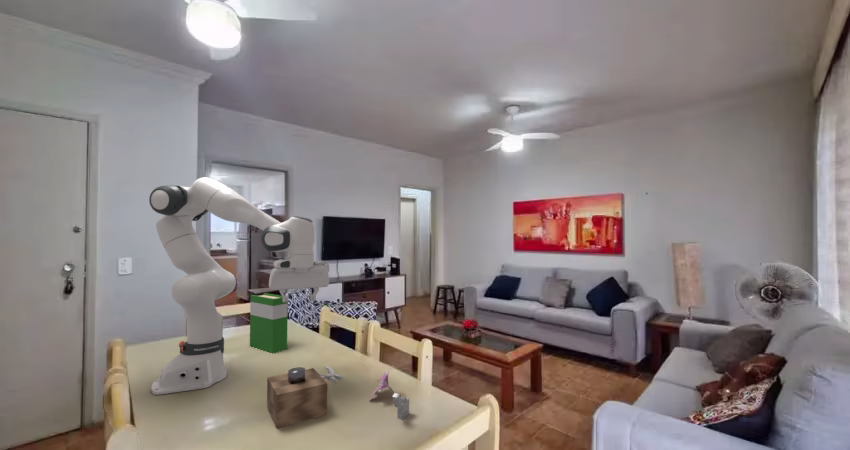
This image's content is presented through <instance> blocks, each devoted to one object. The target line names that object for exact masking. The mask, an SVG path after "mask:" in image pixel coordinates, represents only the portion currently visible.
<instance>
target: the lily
mask: <svg viewBox="0 0 850 450" xmlns="http://www.w3.org/2000/svg"><path fill="white" fill-rule="evenodd" d="M392 369H393V366H391V367H390V368H389V370H388V371H387V372H385V371H384V372H383V374H382V376H381V377H380V378H379V379H378V380H377V382H378V384H379V385H378V386H377V387H376V389H375V390H374V392H373V393H372V394H371V396H370V398H369V400H368V401H369V402H371V400H372V398H373V396H374V395H375V394H376V393H377V391H378V392H381V390H383V389H387V388H388V389H389V390H390V391H391V392H392V395H394V393H395V391H393V389H392V388H391V387H390V385H389V374H390V371H391V370H392Z"/></svg>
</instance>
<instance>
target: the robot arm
mask: <svg viewBox="0 0 850 450" xmlns="http://www.w3.org/2000/svg"><path fill="white" fill-rule="evenodd" d="M149 206H150V208H152V209H151V210H152V211H154V212H156V213H157V214H160V215H162V216H161V217H160V218H159V219H157V221H156V223H155V228H156V232H157V235H158V237H159V240H160V242H161V245H162V246H163V248H164V251H165V252H166V253H167V255H168V258H169V259H170V261H171V263H172V265H173V266H174V267H175V268H177V270H180V271H182V272H183V273H185V274H186V275H184V276H183V277H181V278H178V279H177V280H176V281H175V282H174V283H173V285H172V287H171V297H172V299H173V300H174V302H175V303H176V304H178V305H180V307H181V308H182V309H183V313H184V315H185V318H186V324H187V325H186V333H187V335H186V338H187V340H186V341H183V340H182V341H180V342H179V343H178V347H179V354H178V355H176V356H175V357H174V358H173V359H171V360H169V362H167V363H166V364H165V365H164V366H163V368H162V369H161V372H160V374H159V378H158V379H156V380H154V381H153V382H152V384H151V388H150V392H151V393H152V394H153V395H155V396H156V395H157V396H158V395H165V394H172V393H180V392H186V391H187V392H188V391H193V390H201V389H206V388H209V387H211V386H212V385H214V384H216V383H218V382H220V381H223V380H224V379H225V378H226V377H227V376H228V374H227V373H228V372H227V370H226V366H225V360H224V353H225V352H224V351H225V339H224V338H225V337H224V336H223V333H224V332H223V331H224V326H223V325H224V318H223V315H222V314H221V313H220V312H218V310H217V308H216V304H215V302H216V301H215V300H219V299H222V298H224V297H226V296H228V295H229V294H231V293H232V292H233V291H234V290H235V288H236V285H237V279H236V277H235V276H234V274H233V273H232V272H230V271H229V270H227V269H225V268H224V267H223V266H221V265H220V264H219V263H218V262H217V261H216V260H215V259H214V258H213V257H212V256H211V255H210V254H209V252H208V250H206V248H205V246H204V244H203V243H202V241H201V239H200V237H199V235H198V234H197V232H196V230H195V229H194V227H193V222H197V221H199V220H200V219H201V218H202V217H203V216H204V215H206V214H207V213H210V214H212V215H213V216H215V217H218V218H219V219H222V220H223V221H228V222H230V223H231V222H232V223H239V224H245V225H251V226H253V227H256V228H258V229H259V230H261V231H262V232H261V236H260V242H261V246H262V247H263V248H264V249H265V250H266V251H268V252H271V253H273V252H274V253H283V252H287V256H285V257H282V258H281V259H280V258H279V259H276V260H274V261H273V268H272V269H271V270H270V275H269V278H268V279H269V280H268V288H269V289H270V290H272V291H279V294H280V296H282V297H283V302H288V303H289V296H286V295H285V294H284V293H286V290H297V289H313V293H312V294H310V295H309V296H310V297H309V300H310V301H316V296H317V294H318V293H319V292H320V288H327V287H328V286H329V285H330V276H329V273H330V265H329V263H328V262H326V261H315V251H314V245H315V240H316V239H315V232H316V231H315V224H314V221H313V220H312V219H310V218H308V217H303V216H297V215H293V216H291V217H290V218H289V219H287V220H285V221H283V222H282V221H280V220H279V219H276V218H275V217H273V216H272V215H270V214H268V213H267V212H265V211H264V210H262V209H260V208H259V207H257V206H256V205H254V204H253V203H252V202H251V201H248V200H247V199H246V198H244V197H243V196H242V195H240V193H238V192H237V191H235V190H234V189H232V188H231V187H229V186H227V185H226V184H225V183H222V182H220V181H219V180H216V179H213V178H211V177H208V176H207V177H206V176H205V177H204V176H203V177H199V178H197V179H196V180H195V181H193V183H192V185H190V186H185V185H184V186H183V185H173V184H170V185H168V184H167V185H160V186H158V187H156V188H153V190H152V191H151V193H150V195H149ZM285 296H286V297H285Z"/></svg>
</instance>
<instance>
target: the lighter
mask: <svg viewBox="0 0 850 450" xmlns="http://www.w3.org/2000/svg"><path fill="white" fill-rule="evenodd" d="M391 397H392V398H391V399H392V402H393V404H394V408H396V409H397V414H396V415H397V416H396V417H397V420H402V421H403V420H404V418H406V417H407V416H408V415H409V414H410V398H408V397H407V396H404V395H403V396H401V394H400V393H396V392H394V394H392V396H391Z"/></svg>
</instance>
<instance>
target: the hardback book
mask: <svg viewBox="0 0 850 450" xmlns="http://www.w3.org/2000/svg"><path fill="white" fill-rule="evenodd" d="M285 297H286V295H285ZM288 303H289V301H288V302H283V297H282V295H279V294H272V293H267V292H264V293H263V294H262V295H253V294H250V304H249V305H250V308H249V310H250V312H249V313H250V314H249V315H250V319H249V347H250V346H251V347H250V348H252V347H254V348H253V349H255V348H257V349H256V350H259V349H260V350H259V351H262V350H263V352H265V351H266V353H268V352H269V354H271V353H272V354H271V355H273V353H274V354H277V353H280V352H283V351H286V350H287V349H288V311H289V310H288V307H289V305H288ZM282 350H283V351H282ZM279 351H280V352H279ZM276 352H277V353H276Z"/></svg>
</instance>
